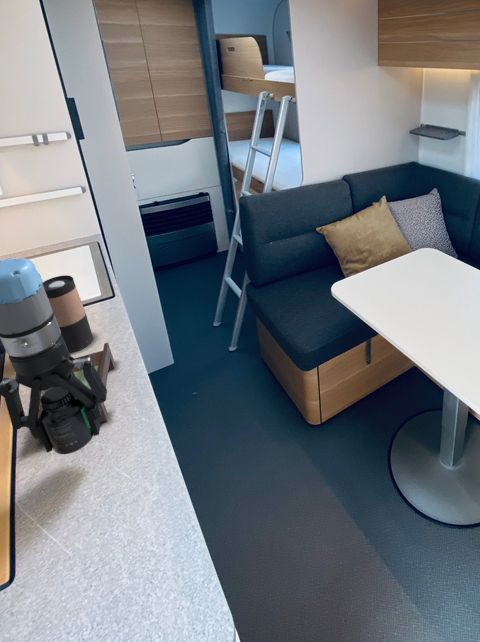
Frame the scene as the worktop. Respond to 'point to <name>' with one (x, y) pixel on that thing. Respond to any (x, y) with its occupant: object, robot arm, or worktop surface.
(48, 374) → the robot arm
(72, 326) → the travel mug
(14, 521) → the worktop surface
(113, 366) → the wooden plaque with label
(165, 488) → the worktop surface
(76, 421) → the supplement bottle
